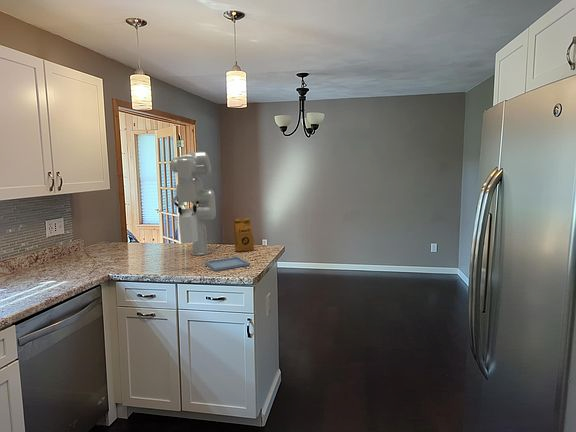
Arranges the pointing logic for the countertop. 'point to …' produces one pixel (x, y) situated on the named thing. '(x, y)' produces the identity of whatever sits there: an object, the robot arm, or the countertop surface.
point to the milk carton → (188, 226)
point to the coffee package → (243, 235)
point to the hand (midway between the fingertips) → (187, 213)
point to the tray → (226, 263)
